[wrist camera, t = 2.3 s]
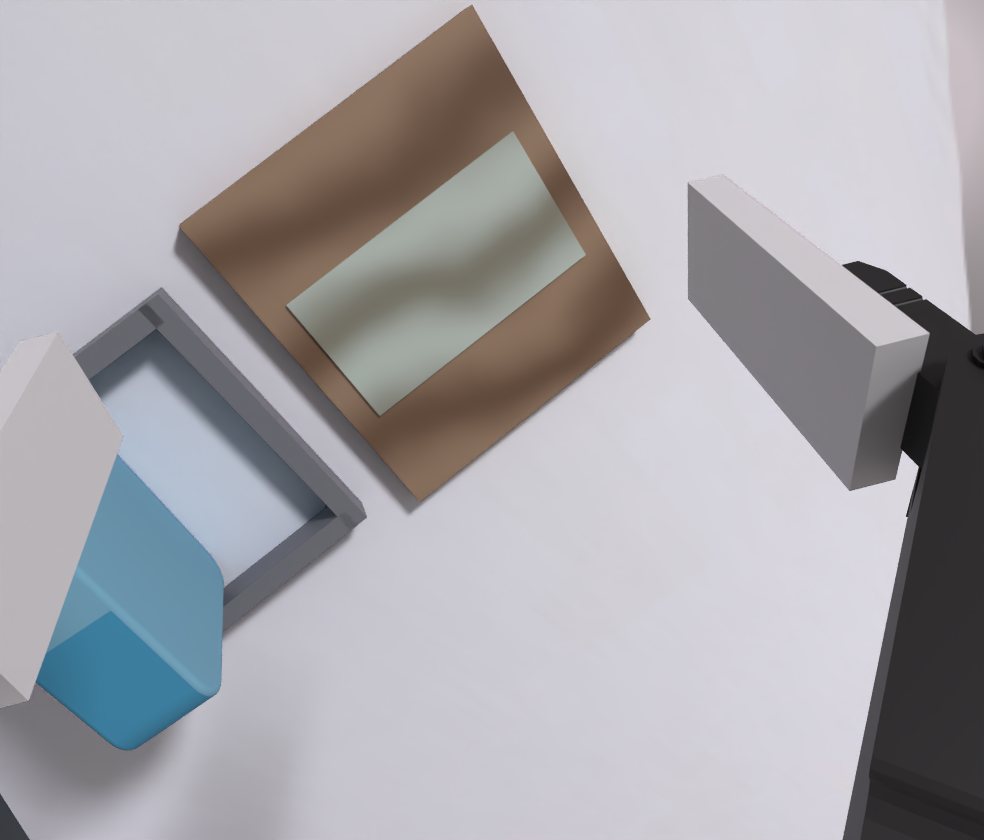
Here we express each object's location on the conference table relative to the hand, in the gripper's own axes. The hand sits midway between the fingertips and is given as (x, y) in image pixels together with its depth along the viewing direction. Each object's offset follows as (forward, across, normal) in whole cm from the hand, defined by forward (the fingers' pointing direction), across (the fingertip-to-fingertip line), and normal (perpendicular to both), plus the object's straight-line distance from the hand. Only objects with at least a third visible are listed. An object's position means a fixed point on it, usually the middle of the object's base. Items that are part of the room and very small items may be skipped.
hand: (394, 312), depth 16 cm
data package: (+18, -19, -18) cm, 32 cm away
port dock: (+24, +1, -11) cm, 27 cm away
